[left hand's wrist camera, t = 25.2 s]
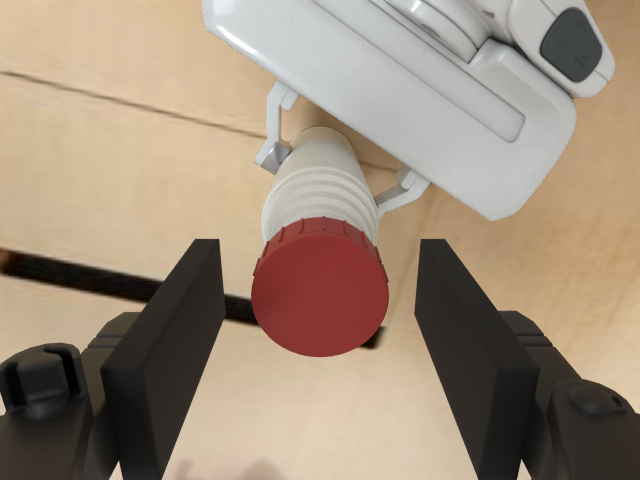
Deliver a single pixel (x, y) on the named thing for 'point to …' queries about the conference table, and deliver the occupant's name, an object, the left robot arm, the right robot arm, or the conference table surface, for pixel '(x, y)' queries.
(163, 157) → the conference table surface
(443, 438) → the conference table surface
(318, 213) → the bottle
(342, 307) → the cap
